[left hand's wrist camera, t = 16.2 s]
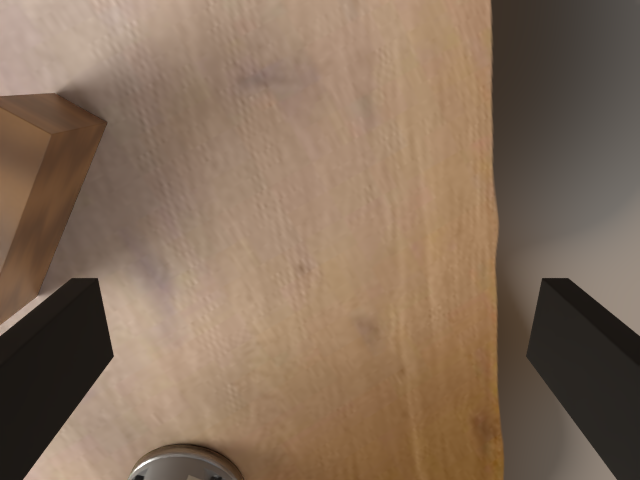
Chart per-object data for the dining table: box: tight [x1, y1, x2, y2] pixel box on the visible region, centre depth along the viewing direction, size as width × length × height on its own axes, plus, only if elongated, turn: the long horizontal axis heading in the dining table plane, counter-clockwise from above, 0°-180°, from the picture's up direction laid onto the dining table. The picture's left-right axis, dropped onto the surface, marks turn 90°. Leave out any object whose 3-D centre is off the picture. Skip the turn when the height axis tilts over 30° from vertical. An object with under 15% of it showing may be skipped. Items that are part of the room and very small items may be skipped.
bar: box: [0, 93, 107, 325], centre depth 39 cm, size 21×5×9 cm, turn 149°
